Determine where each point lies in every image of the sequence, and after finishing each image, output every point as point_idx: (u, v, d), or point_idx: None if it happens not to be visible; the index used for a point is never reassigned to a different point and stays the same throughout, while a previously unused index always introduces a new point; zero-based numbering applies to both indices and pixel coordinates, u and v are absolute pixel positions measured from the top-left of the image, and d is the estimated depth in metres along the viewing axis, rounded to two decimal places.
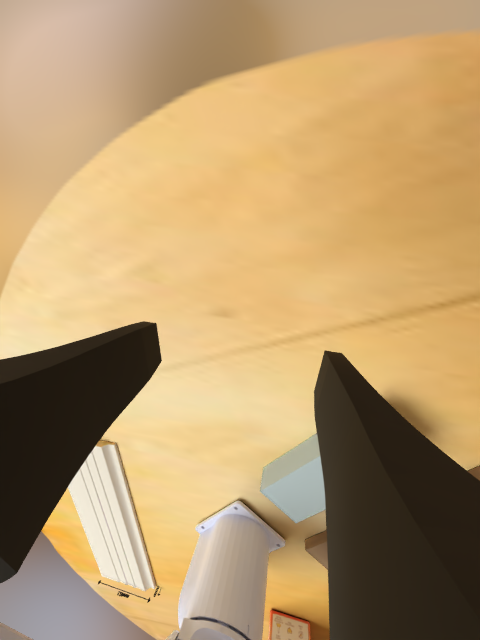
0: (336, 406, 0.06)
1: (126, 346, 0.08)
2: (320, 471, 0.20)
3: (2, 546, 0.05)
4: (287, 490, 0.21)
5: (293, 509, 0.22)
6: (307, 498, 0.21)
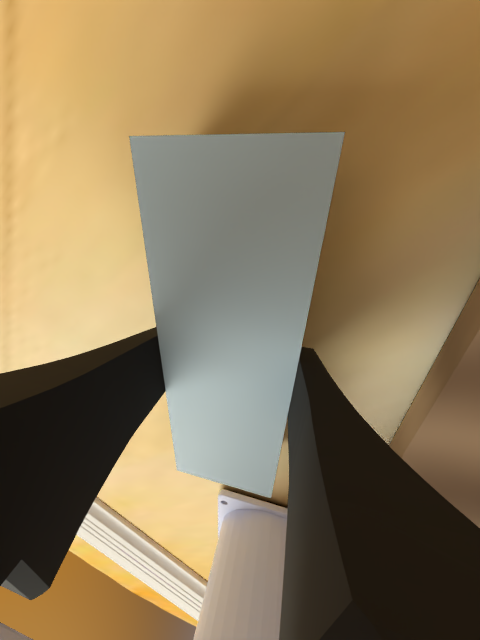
0: (299, 398, 0.06)
1: (150, 350, 0.08)
2: (193, 375, 0.08)
3: (37, 562, 0.05)
4: (199, 446, 0.10)
5: (241, 475, 0.10)
6: (236, 443, 0.10)
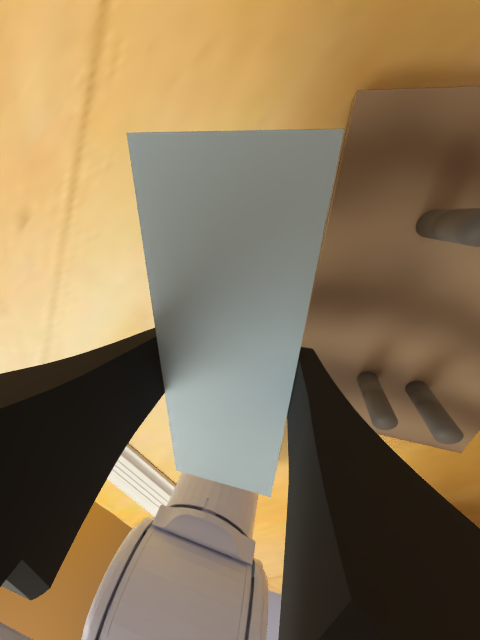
0: (299, 398, 0.06)
1: (151, 351, 0.08)
2: (192, 374, 0.08)
3: (38, 561, 0.05)
4: (198, 445, 0.10)
5: (241, 475, 0.10)
6: (235, 442, 0.09)
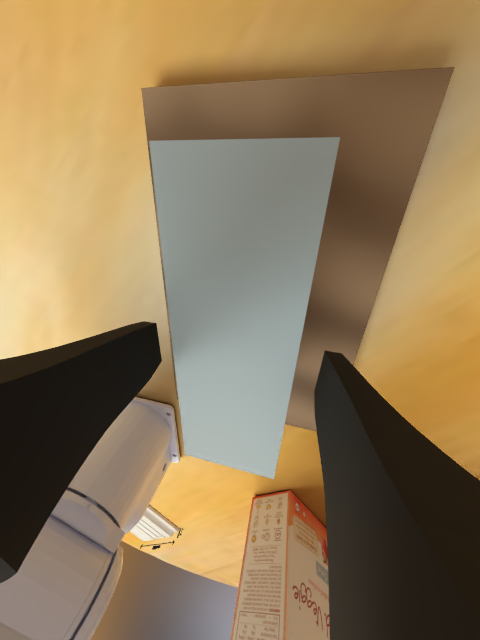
0: (336, 406, 0.06)
1: (126, 346, 0.08)
2: (202, 360, 0.09)
3: (2, 546, 0.05)
4: (206, 429, 0.11)
5: (246, 457, 0.11)
6: (241, 425, 0.10)
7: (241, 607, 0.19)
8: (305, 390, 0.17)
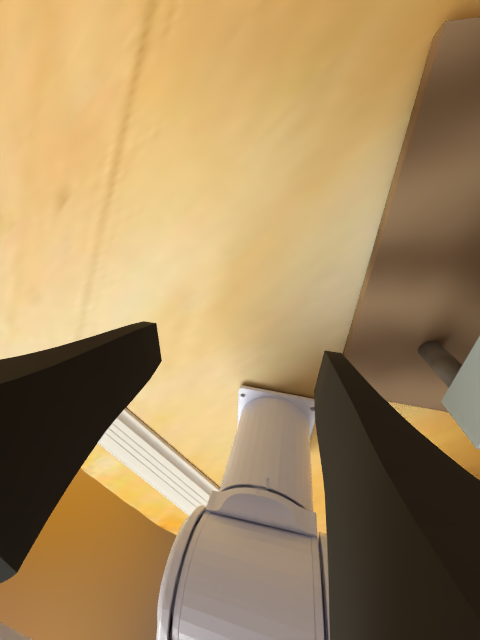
0: (336, 406, 0.06)
1: (126, 346, 0.08)
2: None
3: (3, 546, 0.05)
4: None
5: None
6: None
7: None
8: None
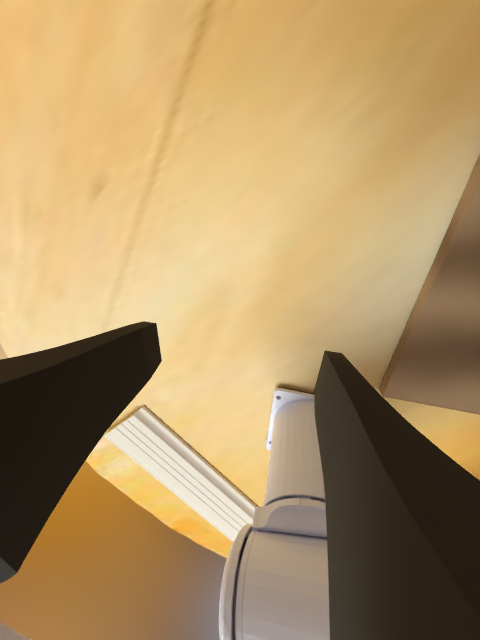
0: (336, 406, 0.06)
1: (125, 346, 0.08)
2: None
3: (2, 546, 0.05)
4: None
5: None
6: None
7: None
8: None
